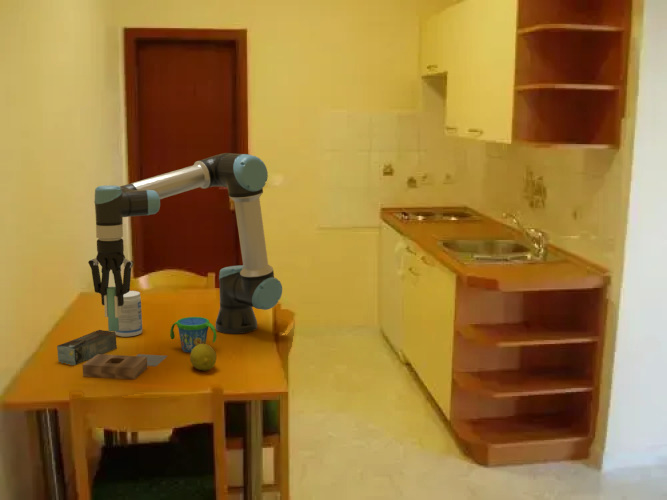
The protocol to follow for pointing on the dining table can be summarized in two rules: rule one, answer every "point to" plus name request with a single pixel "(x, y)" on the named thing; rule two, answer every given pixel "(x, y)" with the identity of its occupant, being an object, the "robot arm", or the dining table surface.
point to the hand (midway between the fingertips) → (113, 315)
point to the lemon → (203, 357)
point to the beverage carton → (86, 347)
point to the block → (115, 366)
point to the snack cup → (192, 332)
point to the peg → (112, 310)
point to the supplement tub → (130, 315)
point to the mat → (153, 359)
